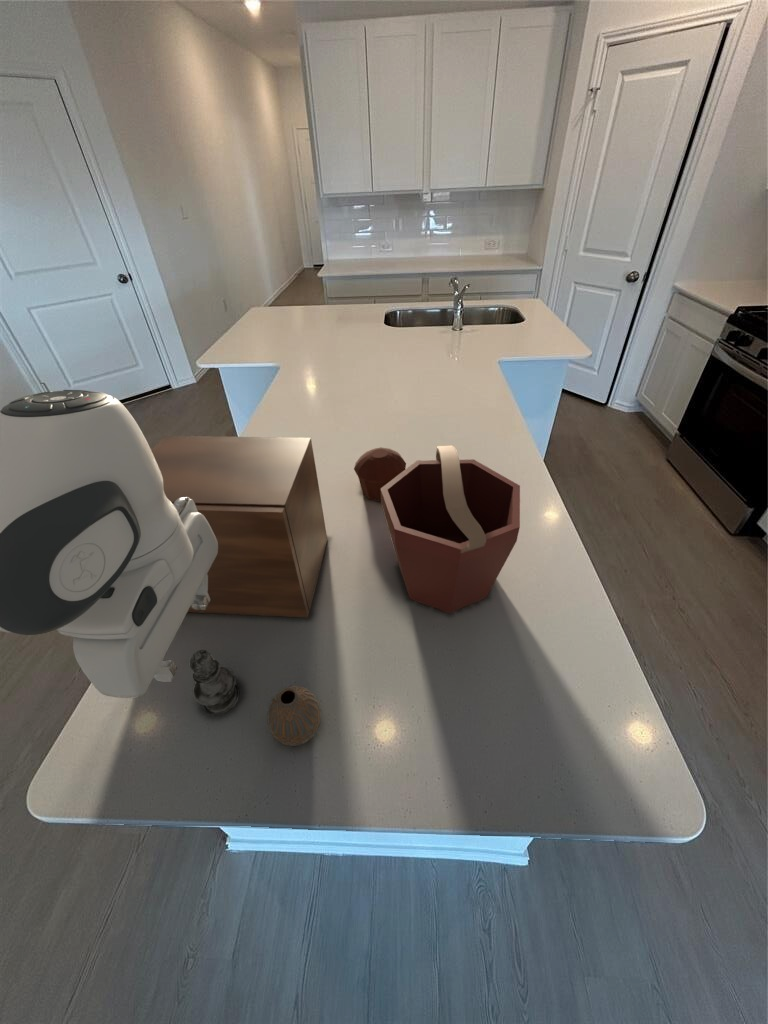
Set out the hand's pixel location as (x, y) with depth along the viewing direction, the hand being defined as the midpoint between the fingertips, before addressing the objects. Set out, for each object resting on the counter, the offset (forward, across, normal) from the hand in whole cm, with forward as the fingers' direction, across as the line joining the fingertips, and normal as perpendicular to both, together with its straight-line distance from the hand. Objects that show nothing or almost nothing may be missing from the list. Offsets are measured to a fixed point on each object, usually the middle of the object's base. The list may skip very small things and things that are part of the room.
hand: (186, 638), depth 51 cm
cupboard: (+18, -28, -5) cm, 34 cm away
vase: (+19, +1, +10) cm, 22 cm away
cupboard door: (+18, -15, -5) cm, 25 cm away
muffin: (+18, -54, +18) cm, 59 cm away
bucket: (+18, -28, +31) cm, 46 cm away
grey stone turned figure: (+19, -3, -2) cm, 19 cm away
